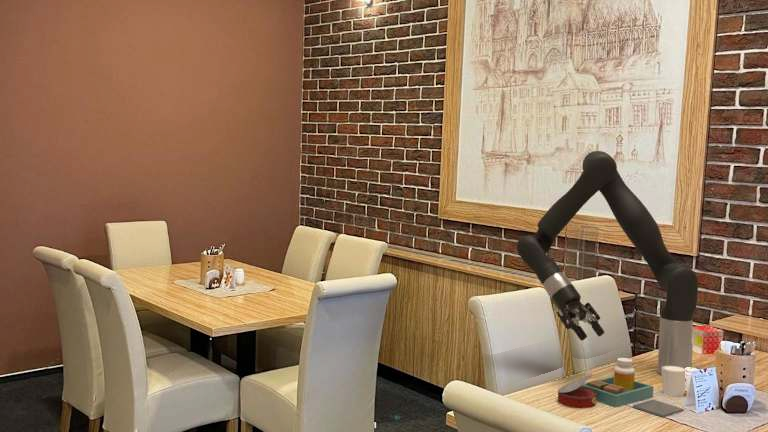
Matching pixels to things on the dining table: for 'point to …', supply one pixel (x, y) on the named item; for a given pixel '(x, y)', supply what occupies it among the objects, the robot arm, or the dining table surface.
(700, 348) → the red patterned cube
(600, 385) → the walnut block
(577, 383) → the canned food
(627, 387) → the supplement bottle
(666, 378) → the cream cylinder
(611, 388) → the walnut block
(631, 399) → the teal tray
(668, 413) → the coaster
